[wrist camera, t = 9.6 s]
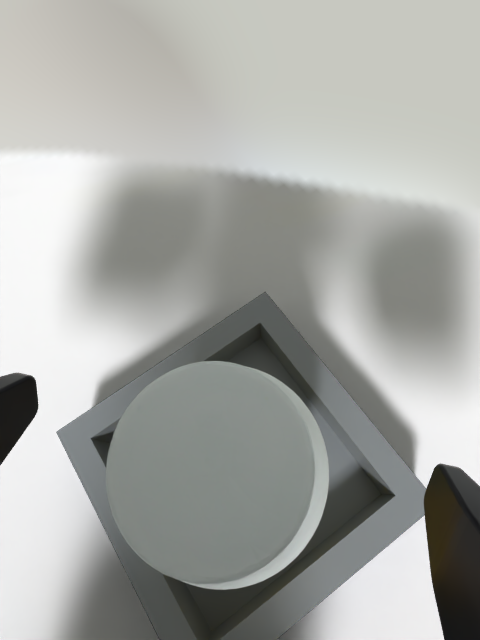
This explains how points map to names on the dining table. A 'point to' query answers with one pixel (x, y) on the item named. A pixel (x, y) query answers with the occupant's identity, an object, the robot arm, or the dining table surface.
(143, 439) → the supplement bottle
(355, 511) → the tray
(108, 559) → the dining table surface
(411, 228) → the dining table surface
